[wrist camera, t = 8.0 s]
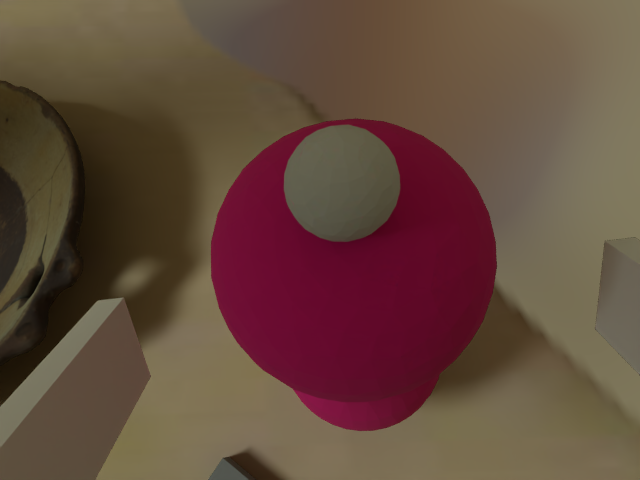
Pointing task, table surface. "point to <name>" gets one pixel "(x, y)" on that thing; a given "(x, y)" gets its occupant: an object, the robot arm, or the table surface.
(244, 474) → the charcoal notebook
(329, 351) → the pepper mill
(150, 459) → the table surface
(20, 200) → the ancient handled dish
